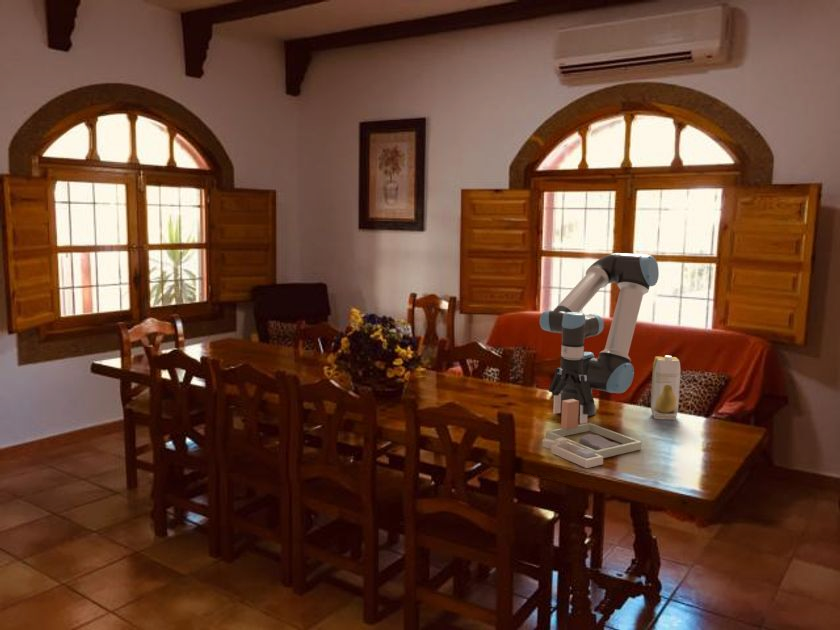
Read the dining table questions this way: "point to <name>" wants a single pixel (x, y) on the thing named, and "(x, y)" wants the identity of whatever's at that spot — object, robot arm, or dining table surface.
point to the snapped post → (548, 443)
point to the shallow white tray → (571, 427)
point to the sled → (563, 446)
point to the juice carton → (665, 387)
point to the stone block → (596, 442)
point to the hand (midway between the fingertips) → (569, 418)
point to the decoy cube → (586, 453)
